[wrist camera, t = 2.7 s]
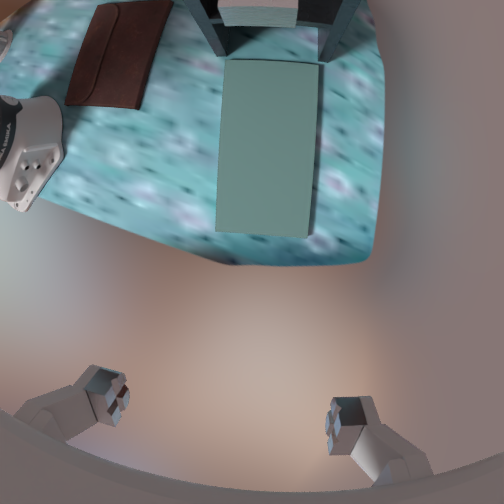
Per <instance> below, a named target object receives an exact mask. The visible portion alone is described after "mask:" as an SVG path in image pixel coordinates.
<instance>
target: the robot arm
mask: <svg viewBox="0 0 504 504" xmlns="http://www.w3.org/2000/svg"><path fill="white" fill-rule="evenodd" d="M61 135H62V115H61V111H60V108H59V106H58V104H57V102H56V101H55V100H54V99H53V98H51V97H49V96H39V97H35V98H28V99H16V98H14V97H11V96H6V95H0V199H1V200H2V201H6V202H8V203H9V204H10V205H11V206H12V207H13V208H14V209H16V210H18V211H21V212H26V211H28V210H29V208H30V207H31V205H32V204H33V202H34V200H35V199H36V197H37V196H38V194H39V193H40V191H41V190H42V188H43V187H44V185H45V184H46V182H47V181H48V179H49V178H50V177H51V175H52V174H53V172H54V171H55V170H56V168H57V167H58V165H59V164H60V163H61V161H62V160H63V156H64V153H63V147H62V143H61ZM125 382H126V377H125V374H124V373H122V372H118V371H114V370H111V369H107V368H103V367H99V366H96V365H90V366H89V367H88V368H87V369H86V371H85V372H84V373H83V374H82V375H81V377H80V378H79V379H78V380H77V381H76V382H75V384H74V385H73V386H71V385H69V386H66V387H63V388H61V389H58V390H55V391H52V392H50V393H47V394H44V395H41V396H38V397H36V398H33V399H30V400H27V401H26V402H25V403H24V404H23V406H22V407H21V408H20V409H19V410H18V411H17V412H16V414H15V415H14V416H12V415H10V414H8V413H7V412H5V411H3V410H1V409H0V504H504V452H501V453H498V454H496V455H493V456H491V457H488V458H486V459H483V460H480V461H478V462H475V463H472V464H469V465H466V466H463V467H460V468H457V469H454V470H450V471H447V472H444V473H440V474H437V475H434V474H433V472H432V469H431V467H430V464H429V461H428V459H427V457H426V454H425V453H424V452H423V451H421V450H420V449H418V448H417V447H416V446H414V445H413V444H411V443H410V442H409V441H407V440H406V439H404V438H403V437H402V436H400V435H399V434H398V433H396V432H395V431H394V430H392V429H391V428H390V427H388V426H387V425H386V424H381V422H380V419H379V416H378V413H377V410H376V407H375V405H374V402H373V399H372V397H371V396H359V397H333V399H332V401H331V404H330V405H331V410H330V411H329V412H328V414H327V417H326V425H325V427H326V434H327V435H328V436H329V439H328V442H327V443H328V451H329V455H350V456H351V457H352V458H353V459H354V460H355V461H356V463H357V464H358V465H359V466H360V467H361V468H362V469H363V470H364V471H365V472H366V474H367V475H368V476H369V477H370V478H371V479H372V480H373V481H374V484H373V485H372V486H371V487H370V488H362V489H353V490H342V491H326V492H267V491H251V490H240V489H231V488H223V487H216V486H209V485H203V484H197V483H191V482H186V481H181V480H176V479H172V478H168V477H163V476H159V475H155V474H151V473H148V472H144V471H140V470H136V469H133V468H130V467H127V466H124V465H120V464H117V463H114V462H111V461H109V460H106V459H103V458H100V457H97V456H95V455H92V454H90V453H87V452H85V451H82V450H79V449H77V448H75V447H73V446H70V445H68V443H67V442H66V441H68V440H69V439H71V438H73V437H74V436H76V435H78V434H80V433H81V432H83V431H85V430H86V429H88V428H90V427H91V426H93V425H95V424H96V423H97V422H100V423H103V424H107V425H110V426H113V427H115V426H116V425H117V423H118V421H119V419H120V418H121V413H120V412H121V411H123V410H125V409H126V407H127V405H128V403H129V398H130V396H129V389H128V388H127V386H126V385H125Z"/></svg>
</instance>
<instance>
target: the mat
mask: <svg viewBox="0 0 504 504" xmlns="http://www.w3.org/2000/svg"><path fill="white" fill-rule="evenodd" d="M318 68H319V65H314V64H305V63H294V62H281V61H263V60H225V70H224V82H223V95H222V109H221V123H220V140H219V157H218V177H217V199H216V227H215V231H216V232H230V233H244V234H258V235H271V236H284V237H297V238H307V237H308V227H309V217H310V206H311V194H312V182H313V169H314V155H315V139H316V121H317V99H318Z"/></svg>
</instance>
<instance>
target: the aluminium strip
mask: <svg viewBox="0 0 504 504" xmlns="http://www.w3.org/2000/svg"><path fill="white" fill-rule="evenodd" d="M218 10H219V12H220V15H221V17H222V20H223V22H224V25H225V26H270V27H287V28H295V27H296V19H297V12H298V0H218Z"/></svg>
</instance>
